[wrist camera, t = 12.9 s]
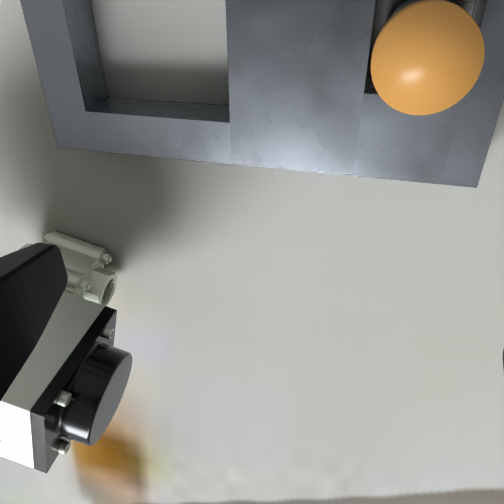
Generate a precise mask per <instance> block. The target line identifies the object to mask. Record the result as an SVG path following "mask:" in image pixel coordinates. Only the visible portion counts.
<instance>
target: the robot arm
mask: <svg viewBox="0 0 504 504" xmlns="http://www.w3.org/2000/svg"><path fill="white" fill-rule="evenodd" d="M67 283H68V275H67V271H66V267H65V264H64V260H63V257H62V253H61V250H60V249H59V247H58V246H56V245H54V244H47V243H35V244H33V245H30V246H28V247H25V248H23V249H20V250H18V251H15V252H13V253H10V254H8V255H5V256H3V257H0V401H1V400H2V398H3V397H4V395H5V394H6V392H7V391H8V389H9V387H10V386H11V384H12V383H13V381H14V380H15V378H16V377H17V375H18V374H19V372H20V370H21V369H22V367H23V366H24V364H25V363H26V361H27V360H28V358H29V357H30V355H31V353H32V352H33V350H34V348H35V347H36V345H37V343H38V341H39V340H40V338H41V336H42V334H43V332H44V330H45V328H46V326H47V324H48V322H49V320H50V318H51V316H52V314H53V312H54V310H55V308H56V306H57V304H58V302H59V300H60V298H61V296H62V294H63V292H64V290H65V289H66V286H67ZM503 367H504V350H503Z"/></svg>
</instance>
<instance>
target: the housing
mask: <svg viewBox="0 0 504 504" xmlns="http://www.w3.org/2000/svg"><path fill="white" fill-rule="evenodd" d="M20 1H21V5H22V9H23V13H24V17H25V21H26V25H27V29H28V33H29V36H30V40H31V44H32V48H33V52H34V56H35V60H36V64H37V68H38V72H39V75H40V79H41V83H42V87H43V91H44V95H45V99H46V103H47V107H48V111H49V114H50V118H51V122H52V126H53V130H54V134H55V138H56V142H57V146H58V148H68V149H79V150H89V151H100V152H110V153H120V154H131V155H141V156H152V157H162V158H173V159H183V160H193V161H204V162H214V163H225V164H235V165H246V166H256V167H266V168H277V169H287V170H298V171H308V172H318V173H329V174H339V175H350V176H360V177H371V178H381V179H391V180H402V181H412V182H423V183H433V184H443V185H454V186H464V187H475V188H477V185H478V182H479V179H480V175H481V172H482V169H483V165H484V162H485V159H486V155H487V152H488V149H489V145H490V142H491V139H492V135H493V132H494V129H495V125H496V122H497V118H498V115H499V112H500V108H501V105H502V102H503V98H504V0H476V2H475V6H474V11H473V15H472V18H473V20H474V21H475V22H476V24H477V25H478V27H479V29H480V31H481V34H482V36H483V41H484V49H485V53H484V62H483V66H482V69H481V73H480V75H479V77H478V79H477V81H476V82H475V84H474V86H473V87H472V88H471V90H470V91H469V92H468V93H467V94H466V95H465V96H464V97H463V98H462V99H461V100H460V101H459V102H457V103H456V104H454V105H453V106H451V107H449V108H447V109H445V110H443V111H440V112H438V113H434V114H430V115H409V114H405V113H402V112H400V111H397V110H395V109H393V108H392V107H390V106H389V105H388V104H386V103H385V102H384V101H383V99H382V98H381V97H380V96H379V94H378V93H377V91H376V89H375V87H374V84H373V81H372V79H369V78H366V74H367V66H368V58H369V51H370V43H371V35H372V27H373V20H374V12H375V4H376V0H226V21H227V51H228V81H229V106H224V105H210V104H197V103H183V102H169V101H155V100H141V99H127V98H113V97H107V92H106V86H105V81H104V75H103V70H102V64H101V59H100V53H99V48H98V42H97V37H96V31H95V26H94V20H93V15H92V9H91V4H90V0H20Z"/></svg>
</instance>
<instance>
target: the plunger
mask: <svg viewBox="0 0 504 504" xmlns="http://www.w3.org/2000/svg"><path fill="white" fill-rule="evenodd" d="M484 53H485V49H484V41H483V36H482V34H481V31H480V29H479V27H478V25H477V24H476V22H475V21H474V20H473V18H472V17H471V16H470V15H469V14H468V12H466V11H465V10H464V9H463V8H462V7H460V6H458V5H457V4H455V3H452V2H450V1H446V0H408V1H406V2H404V3H403V4H401V5H400V6H399V7H398V8H397V9H396V10H395V11H394V12H393V13H392V14H391V15H390V17H389V19H388V20H387V22H386V23H385V25H384V26H383V27H382V29H381V30H380V32H379V34H378V36H377V38H376V40H375V43H374V46H373V51H372V58H371V76H372V81H373V84H374V87H375V89H376V91H377V93H378V94H379V96H380V97H381V98H382V99H383V101H384V102H385V103H386V104H388V105H389V106H390V107H392V108H393V109H395V110H397V111H400V112H402V113H405V114H409V115H430V114H434V113H438V112H440V111H443V110H445V109H447V108H449V107H451V106H453V105H454V104H456V103H457V102H459V101H460V100H461V99H462V98H463V97H464V96H465V95H466V94H467V93H468V92H469V91H470V90H471V88H472V87H473V86H474V84H475V82H476V81H477V79H478V77H479V75H480V73H481V69H482V66H483V62H484Z"/></svg>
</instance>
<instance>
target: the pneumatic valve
mask: <svg viewBox="0 0 504 504" xmlns="http://www.w3.org/2000/svg"><path fill="white" fill-rule="evenodd" d="M44 243H47V244H54V245H56V246H58V247H59V249H60V250H61V253H62V257H63V260H64V264H65V267H66V271H67V275H68V283H67V286H66V289H65V290H64V292H63V294H62V296H61V298H60V300H59V302H58V304H57V306H56V308H55V310H54V312H53V314H52V316H51V318H50V320H49V322H48V324H47V326H46V328H45V330H44V332H43V334H42V336H41V338H40V340H39V341H38V343H37V345H36V347H35V348H34V350H33V352H32V353H31V355H30V357H29V358H28V360H27V361H26V363H25V364H24V366H23V367H22V369H21V370H20V372H19V374H18V375H17V377H16V378H15V380H14V381H13V383H12V384H11V386H10V387H9V389H8V391H7V392H6V394H5V395H4V397H3V398H2V400H1V401H0V456H2V457H5V458H7V459H10V460H13V461H15V462H18V463H21V464H23V465H26V466H29V467H31V468H34V469H37V470H39V471H42V472H45V473H47V472H48V471H49V469H50V467H51V466H52V464H53V462H54V461H55V459H56V457H57V456H58V454H59V453H62V454H66V453H67V452H68V450H69V448H70V445H71V442H69V441H71V439H72V440H75V441H77V442H80V443H83V444H86V445H88V446H92V445H94V444H95V443H96V442H97V441H98V440H99V439H100V437H101V436H102V435H103V433H104V432H105V430H106V428H107V427H108V425H109V423H110V421H111V419H112V418H113V416H114V414H115V411H116V409H117V407H118V405H119V403H120V400H121V398H122V395H123V393H124V390H125V387H126V385H127V382H128V378H129V375H130V371H131V366H132V355H131V353H129V352H126V351H124V350H121V349H118V348H115V347H113V344H114V334H115V325H116V315H117V310H115V309H112V308H110V307H107V305H108V303H109V302H110V300H111V298H112V296H113V294H114V291H115V288H116V284H117V276H116V273H115V272H113V271H110V270H108V269H105V268H104V264H108V263H110V262H111V261H112V257H111V254H108V253H107V251H106V249H104V248H101V247H98V246H95V245H93V244H90V243H87V242H84V241H81V240H79V239H76V238H73V237H70V236H67V235H64V234H62V233H59V232H56V231H53V232H52V233H46V235H45V236H44ZM30 245H33V244H26V245H24V246H23V247H22V248H21V249H23V248H25V247H28V246H30ZM67 440H69V441H67Z"/></svg>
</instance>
